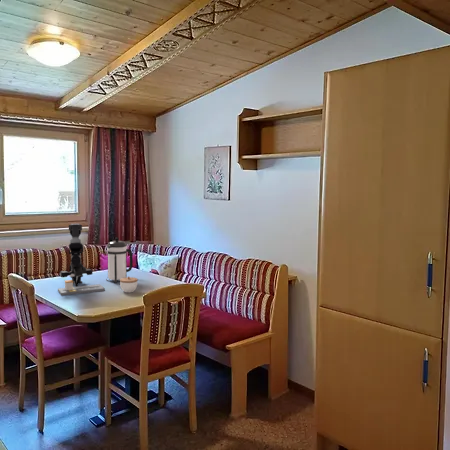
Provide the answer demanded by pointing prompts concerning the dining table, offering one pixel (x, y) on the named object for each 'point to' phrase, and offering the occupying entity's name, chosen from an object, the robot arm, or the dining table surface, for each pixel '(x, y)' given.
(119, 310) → the dining table surface
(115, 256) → the coffee press
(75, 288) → the console board
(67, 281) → the block
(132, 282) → the lidded jar
